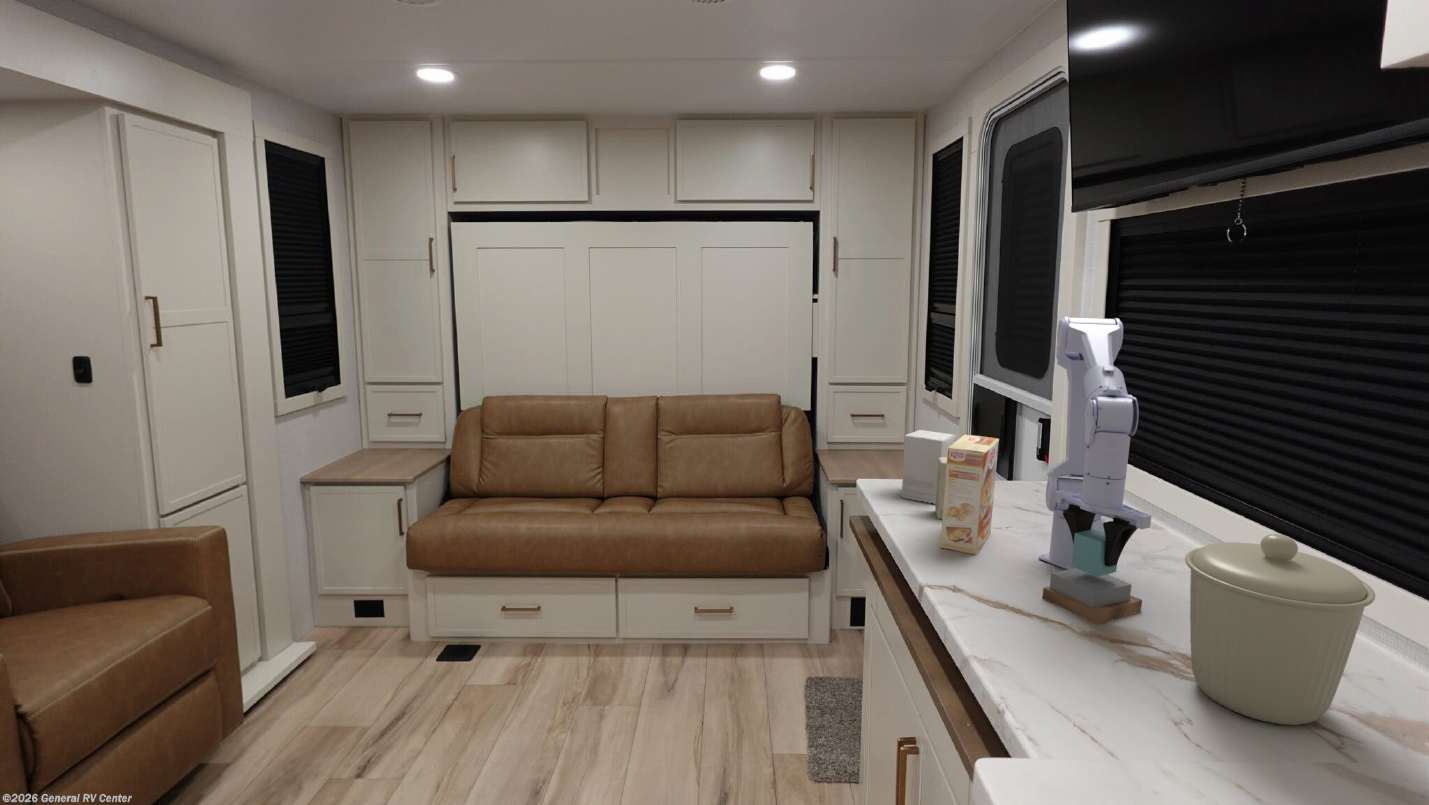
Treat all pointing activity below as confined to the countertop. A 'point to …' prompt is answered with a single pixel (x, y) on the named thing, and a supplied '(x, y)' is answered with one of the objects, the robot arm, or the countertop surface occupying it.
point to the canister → (1272, 627)
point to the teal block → (1091, 553)
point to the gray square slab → (1090, 587)
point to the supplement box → (923, 463)
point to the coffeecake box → (969, 493)
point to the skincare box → (940, 486)
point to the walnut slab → (1096, 613)
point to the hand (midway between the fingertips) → (1095, 559)
